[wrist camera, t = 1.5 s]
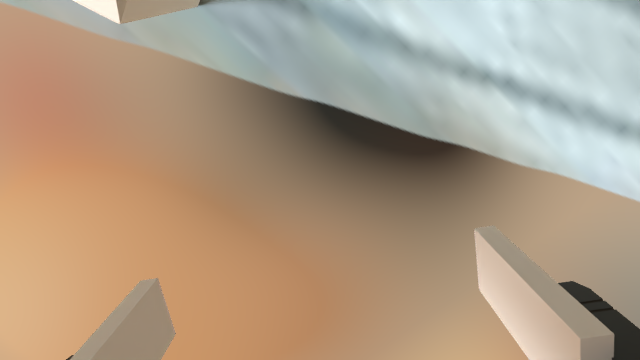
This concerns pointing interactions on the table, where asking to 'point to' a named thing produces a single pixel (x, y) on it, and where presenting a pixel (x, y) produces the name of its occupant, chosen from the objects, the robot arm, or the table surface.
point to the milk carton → (136, 8)
